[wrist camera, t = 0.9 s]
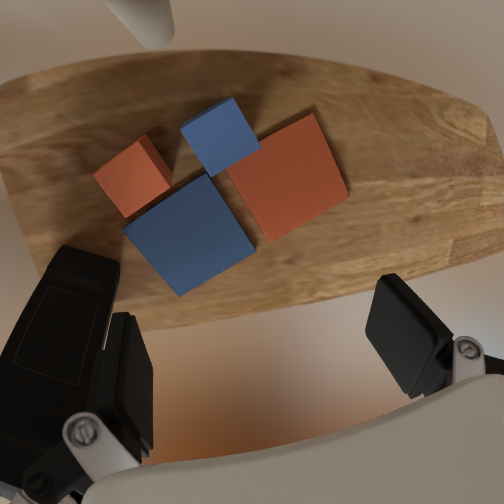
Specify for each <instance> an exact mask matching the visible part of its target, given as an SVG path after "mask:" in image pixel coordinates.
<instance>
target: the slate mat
mask: <svg viewBox="0 0 504 504" xmlns="http://www.w3.org/2000/svg"><path fill="white" fill-rule="evenodd" d="M122 230H123V231H124V232H125V234H126V235H127V236H128V237H129V239H130V240H131V241H132V242H133V244H134V245H135V246H136V247H137V248H138V250H139V251H140V252H141V253H142V254H143V256H144V257H145V258H146V259H147V260H148V262H149V263H150V264H151V265H152V266H153V268H154V269H155V270H156V271H157V272H158V273H159V274H160V276H161V277H162V278H163V279H164V280H165V281H166V283H167V284H168V285H169V286H170V287H171V288H172V289H173V290H174V292H175V293H176V294H177V295H178V296H179V297H180V296H182V295H183V294H185V293H187V292H188V291H190V290H192V289H193V288H195V287H197V286H199V285H200V284H202V283H204V282H205V281H207V280H209V279H210V278H212V277H214V276H216V275H217V274H219V273H221V272H222V271H224V270H226V269H227V268H229V267H231V266H233V265H234V264H236V263H238V262H239V261H241V260H243V259H244V258H246V257H248V256H249V255H251V254H253V253H255V252H256V249H255V247H254V246H253V244H252V243H251V241H250V240H249V238H248V236H247V235H246V233H245V232H244V230H243V229H242V227H241V226H240V224H239V222H238V221H237V219H236V218H235V216H234V215H233V213H232V212H231V210H230V208H229V207H228V205H227V204H226V202H225V201H224V199H223V198H222V196H221V194H220V193H219V191H218V190H217V188H216V187H215V185H214V184H213V182H212V180H211V179H210V177H209V176H208V174H207V173H206V172H205V173H203V174H202V175H200V176H199V177H197V178H195V179H194V180H192V181H191V182H189V183H187V184H186V185H184V186H183V187H181V188H180V189H178V190H177V191H175V192H174V193H172V194H171V195H169V196H168V197H166V198H165V199H163V200H162V201H160V202H159V203H157V204H156V205H154V206H153V207H151V208H150V209H148V210H147V211H146V212H144V213H143V214H141V215H140V216H138V217H137V218H136V219H134V220H133V221H131V222H130V223H128V224H127V225H126V226H124V227H123V228H122Z"/></svg>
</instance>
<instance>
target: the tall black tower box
mask: <svg viewBox="0 0 504 504" xmlns="http://www.w3.org/2000/svg"><path fill="white" fill-rule="evenodd" d="M119 277H120V267H119V263H118V262H117V261H114V260H111V259H107V258H104V257H101V256H98V255H95V254H91V253H88V252H85V251H82V250H79V249H76V248H73V247H70V246H67V245H62V246H61V247H60V248H59V250H58V251H57V253H56V254H55V256H54V257H53V259H52V260H51V262H50V263H49V265H48V266H47V269H46V272H45V274H44V275H43V277H42V279H41V280H40V282H39V284H38V285H37V287H36V289H35V290H34V292H33V294H32V296H31V297H30V299H29V301H28V303H27V305H26V306H25V308H24V310H23V312H22V314H21V315H20V317H19V319H18V321H17V323H16V325H15V327H14V329H13V331H12V333H11V335H10V337H9V339H8V341H7V343H6V345H5V347H4V349H3V351H2V354H1V356H0V496H2V497H4V498H6V499H9V500H12V499H13V497H14V496H15V494H16V493H17V492H19V493H21V491H22V490H23V488H22V476H23V474H24V471H25V470H26V469H27V468H28V467H29V466H30V465H32V464H33V463H34V462H36V461H37V460H38V459H39V458H41V457H42V456H43V455H45V454H46V453H47V452H48V451H50V450H51V449H52V448H54V447H55V446H56V445H57V444H59V443H60V442H61V441H62V440H64V438H63V432H62V430H63V427H64V424H65V422H66V421H67V419H69V418H70V417H71V416H72V415H74V414H76V413H79V412H85V411H86V405H87V399H88V393H89V387H90V382H91V377H92V371H93V367H94V362H95V357H96V354H97V351H98V350H103V347H104V343H105V338H106V334H107V330H108V325H109V321H110V317H111V313H112V309H113V304H114V300H115V295H116V291H117V287H118V282H119Z"/></svg>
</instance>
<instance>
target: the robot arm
mask: <svg viewBox="0 0 504 504" xmlns="http://www.w3.org/2000/svg"><path fill="white" fill-rule="evenodd" d="M365 333H366V336H367V338H368V339H369V340H370V342H371V344H372V345H373V346H374V348H375V350H376V351H377V353H378V354H379V355H380V357H381V358H382V360H383V361H384V363H385V365H386V366H387V368H388V369H389V371H390V372H391V374H392V375H393V377H394V378H395V380H396V382H397V383H398V385H399V386H400V388H401V389H402V391H403V392H404V393H405V394H408V396H409V397H410V399H413V398H415V397H417V396H419V395H421V394H422V393H423V394H424V396H425V397H424V398H423V399H420V400H418V401H416V402H414V403H411V404H409V405H406V406H404V407H402V408H399V409H397V410H395V411H392V412H389V413H387V414H384V415H382V416H379V417H376V418H374V419H371V420H368V421H365V422H363V423H360V424H357V425H354V426H351V427H348V428H345V429H342V430H338V431H335V432H332V433H328V434H325V435H321V436H318V437H314V438H311V439H307V440H303V441H299V442H295V443H291V444H286V445H282V446H278V447H273V448H269V449H263V450H258V451H252V452H247V453H241V454H235V455H228V456H222V457H214V458H207V459H198V460H189V461H179V462H170V463H161V464H152V465H146V466H142V465H141V463H142V457H143V458H145V457H149V450H152V449H153V367H152V364H151V361H150V358H149V355H148V353H147V350H146V347H145V344H144V342H143V339H142V336H141V333H140V330H139V327H138V324H137V321H136V318H135V316H134V315H130V314H129V312H119V313H113V315H112V318H111V322H110V327H109V331H108V336H107V341H106V345H105V350H98V351H97V354H96V357H95V362H94V367H93V371H92V377H91V382H90V387H89V393H88V399H87V405H86V411H85V412H79V413H76V414H74V415H72V416H71V417H70V418H69V419H67V421H66V422H65V424H64V427H63V430H62V432H63V438H64V440H62V441H61V442H60V443H59V444H57V445H56V446H55V447H54V448H52V449H51V450H50V451H48V452H47V453H46V454H45V455H43V456H42V457H41V458H39V459H38V460H37V461H36V462H34V463H33V464H32V465H30V466H29V467H28V468H27V469H26V470H25V471H24V474H23V476H22V488H23V490H22V491H21V493H19V492H17V493H16V494H15V496H14V497H13V499H12V500H11V502H10V504H504V360H502V359H498V358H495V357H491V356H488V355H484V351H483V347H482V346H481V344H480V343H479V342H478V341H477V340H475V339H474V338H472V337H469V336H460V337H458V338H456V340H455V341H453V339H452V337H453V335H454V334H453V333H452V332H451V331H450V330H449V329H448V328H447V326H446V325H445V324H444V323H443V322H442V321H441V320H440V319H439V318H438V317H437V316H436V315H435V313H434V312H433V311H432V310H431V309H430V308H429V307H428V306H427V305H426V304H425V303H424V302H423V301H422V300H421V299H420V298H419V297H418V295H417V294H416V293H415V292H414V291H413V290H412V289H411V288H410V287H409V286H408V285H407V284H406V283H405V282H404V281H403V280H402V279H401V278H400V277H399V276H398V275H397V274H395V273H391V274H386V275H382V276H381V277H380V279H379V280H378V281H377V284H376V289H375V293H374V297H373V301H372V305H371V309H370V313H369V317H368V320H367V324H366V328H365Z"/></svg>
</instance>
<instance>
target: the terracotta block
mask: <svg viewBox="0 0 504 504" xmlns="http://www.w3.org/2000/svg"><path fill="white" fill-rule="evenodd" d="M172 175H173V173H172V172H171V170H170V169H169V167H168V166H167V164H166V163H165V161H164V160H163V158H162V157H161V155H160V154H159V153H158V151H157V150H156V148H155V147H154V145H153V144H152V142H151V141H150V139H149V138H148V136H147V135H146V134H145V135H143V136H142V137H140V138H139V139H138V140H136V141H135V142H133V143H132V144H131V145H129V146H128V147H127V148H125V149H124V150H122V151H121V152H120V153H118V154H117V155H116V156H115V157H113V158H112V159H111V160H109V161H108V162H107V163H106V164H104V165H103V166H102V167H101V168H100V169H99V170H98V171H97V172H95V173H94V174H93V176H94V177H95V178H96V180H97V181H98V182H99V184H100V185H101V187H102V188H103V189H104V191H105V192H106V193H107V195H108V196H109V197H110V199H111V200H112V201H113V203H114V204H115V205H116V207H117V208H118V209H119V211H120V212H121V213H122V214H123V216H124V217H125V218H127V217H129V216H130V215H131V214H133V213H134V212H136V211H137V210H138V209H140V208H141V207H143V206H144V205H145V204H147V203H148V202H150V201H151V200H153V199H154V198H156V197H157V196H159V195H160V194H162V193H163V192H164V191H166V190H167V189H169V188H170V187H171V181H172Z"/></svg>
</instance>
